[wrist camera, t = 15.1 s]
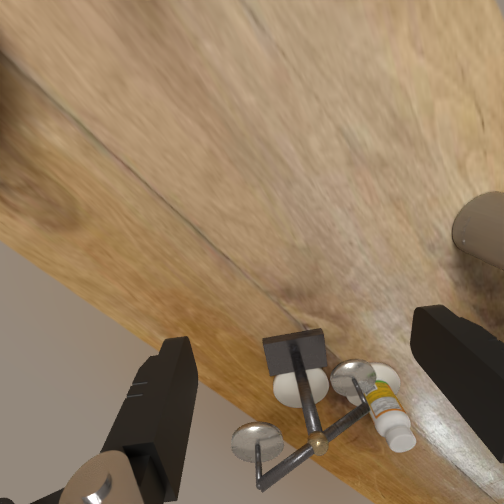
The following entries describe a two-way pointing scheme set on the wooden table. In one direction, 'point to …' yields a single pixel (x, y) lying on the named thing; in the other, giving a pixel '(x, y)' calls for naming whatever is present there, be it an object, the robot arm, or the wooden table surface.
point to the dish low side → (383, 373)
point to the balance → (298, 361)
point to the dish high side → (289, 391)
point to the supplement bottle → (389, 417)
